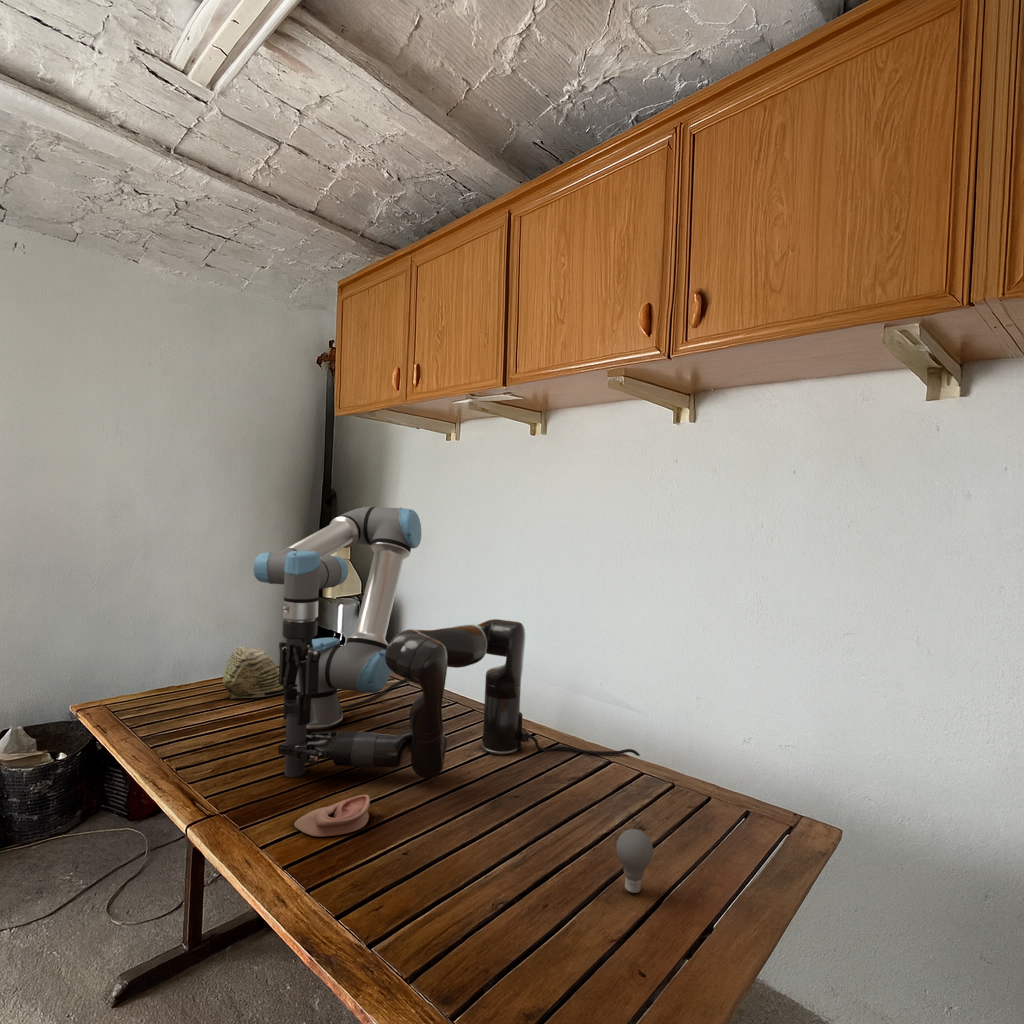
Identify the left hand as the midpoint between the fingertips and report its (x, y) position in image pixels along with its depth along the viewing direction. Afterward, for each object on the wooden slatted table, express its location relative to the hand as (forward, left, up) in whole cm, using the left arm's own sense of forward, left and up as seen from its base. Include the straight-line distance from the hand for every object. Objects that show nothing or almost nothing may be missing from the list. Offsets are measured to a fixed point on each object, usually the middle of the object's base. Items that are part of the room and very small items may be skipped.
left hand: (296, 720), depth 144 cm
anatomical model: (+7, +25, -12) cm, 28 cm away
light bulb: (-13, +79, -12) cm, 81 cm away
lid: (0, 0, +4) cm, 4 cm away
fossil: (-22, -58, -12) cm, 63 cm away
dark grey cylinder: (0, 0, -12) cm, 12 cm away
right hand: (+2, -2, -6) cm, 6 cm away
